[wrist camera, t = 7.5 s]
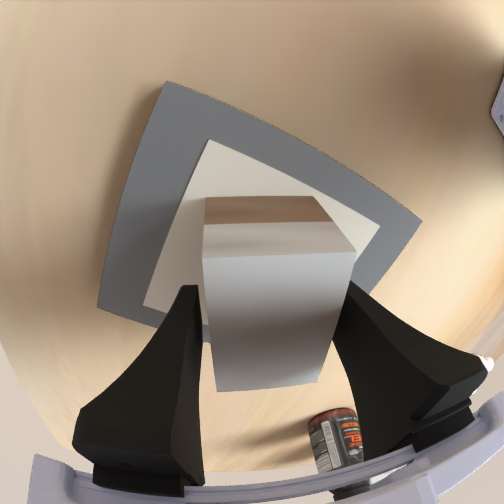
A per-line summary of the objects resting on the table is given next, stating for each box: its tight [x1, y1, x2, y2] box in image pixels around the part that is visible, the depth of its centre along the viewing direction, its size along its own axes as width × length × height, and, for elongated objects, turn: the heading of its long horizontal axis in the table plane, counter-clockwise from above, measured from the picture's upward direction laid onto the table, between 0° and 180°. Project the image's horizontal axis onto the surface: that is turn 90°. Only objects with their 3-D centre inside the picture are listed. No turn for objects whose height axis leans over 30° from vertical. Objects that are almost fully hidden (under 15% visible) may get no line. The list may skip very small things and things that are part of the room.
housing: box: [202, 196, 357, 392], centre depth 12 cm, size 7×4×4 cm, turn 179°
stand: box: [97, 81, 422, 343], centre depth 14 cm, size 14×12×2 cm
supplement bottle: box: [308, 408, 370, 501], centre depth 24 cm, size 6×6×11 cm
